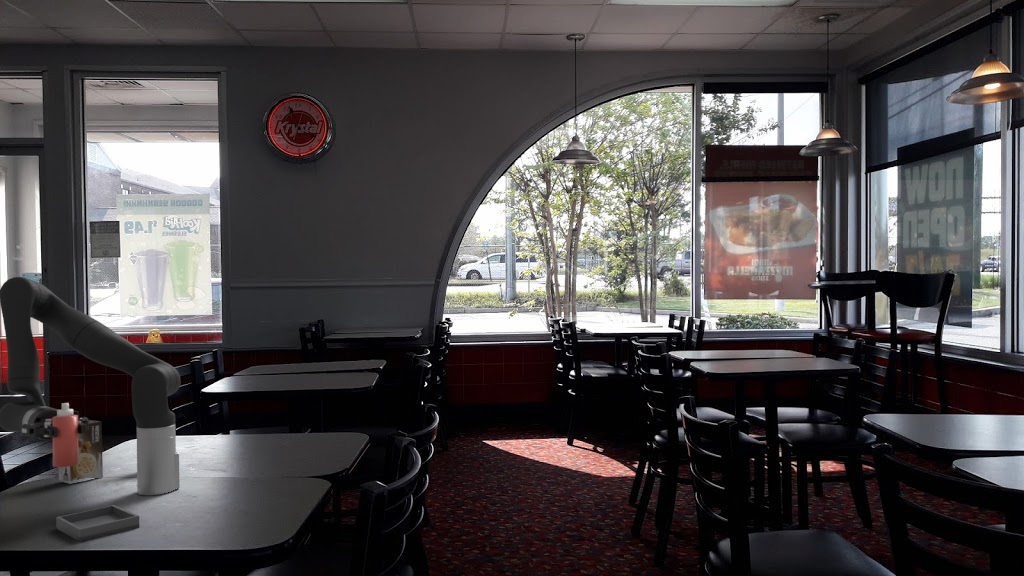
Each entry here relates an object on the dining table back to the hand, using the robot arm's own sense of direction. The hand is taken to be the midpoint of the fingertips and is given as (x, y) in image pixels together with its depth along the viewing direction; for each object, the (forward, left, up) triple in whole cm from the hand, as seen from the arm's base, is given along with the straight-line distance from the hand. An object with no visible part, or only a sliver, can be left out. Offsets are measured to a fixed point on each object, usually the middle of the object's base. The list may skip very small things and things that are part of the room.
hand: (69, 430), depth 168 cm
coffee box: (-17, -42, -21) cm, 50 cm away
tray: (-3, +9, -21) cm, 23 cm away
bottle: (0, -3, -8) cm, 8 cm away
